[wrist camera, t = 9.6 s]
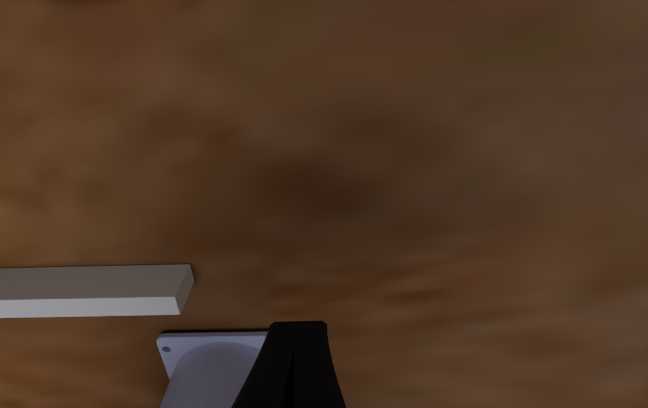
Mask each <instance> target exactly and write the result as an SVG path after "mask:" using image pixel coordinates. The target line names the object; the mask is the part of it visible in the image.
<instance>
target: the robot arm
mask: <svg viewBox="0 0 648 408" xmlns="http://www.w3.org/2000/svg"><path fill="white" fill-rule="evenodd" d="M156 343H157V346H158V349H159V352H160V355H161V357H162V360H163V363H164V366H165V369H166V371H167V374H168V377H169V380H170V381H169V384H168V387H167V389H166V392H165V394H164V397H163V399H162V402H161V405H160V407H159V408H346V406H345V403H344V400H343V397H342V394H341V390H340V387H339V384H338V381H337V378H336V374H335V370H334V366H333V362H332V358H331V354H330V349H329V343H328V336H327V324H326V323H325V322H323V321H292V322H274V323H272V324H271V325H270V327H269V330H268V332H209V333H163V334H160V335H159V336H158V338H157V341H156Z"/></svg>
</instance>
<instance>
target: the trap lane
mask: <svg viewBox="0 0 648 408" xmlns="http://www.w3.org/2000/svg"><path fill="white" fill-rule="evenodd" d="M193 284H194V277H193V273H192V270H191V266H190V264H177V265H130V266H83V267H36V268H0V318H23V317H77V316H132V315H180V314H181V311H182V309H183V307H184V304H185V302H186V300H187V297H188V295H189V293H190V290H191V288H192V286H193Z"/></svg>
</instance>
